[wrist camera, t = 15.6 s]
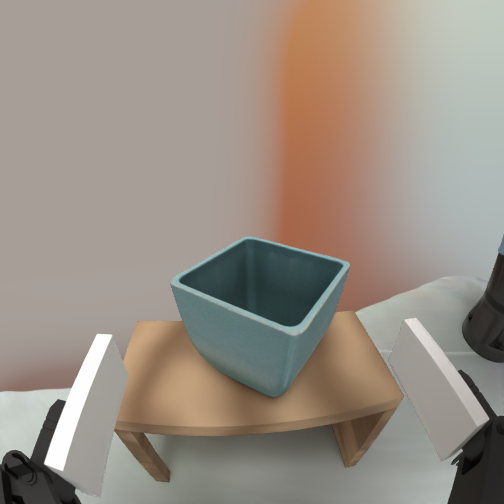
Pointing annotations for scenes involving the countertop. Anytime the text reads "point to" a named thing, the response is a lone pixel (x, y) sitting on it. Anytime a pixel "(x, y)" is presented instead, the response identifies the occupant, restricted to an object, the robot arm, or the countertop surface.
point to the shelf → (253, 393)
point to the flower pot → (259, 309)
